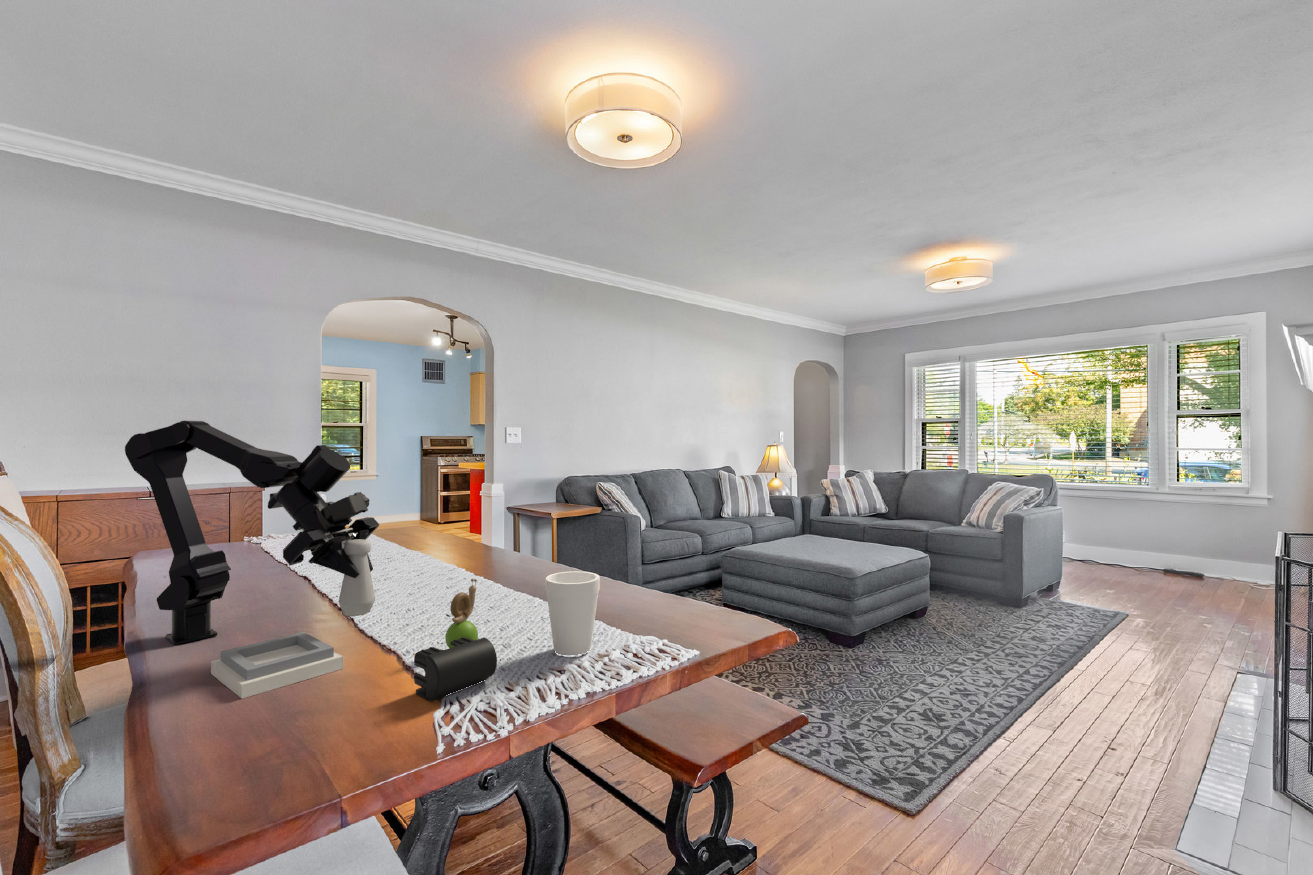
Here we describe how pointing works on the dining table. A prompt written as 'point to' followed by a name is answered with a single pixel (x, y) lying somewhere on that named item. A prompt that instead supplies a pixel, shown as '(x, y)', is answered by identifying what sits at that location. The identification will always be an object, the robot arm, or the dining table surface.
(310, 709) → the dining table surface
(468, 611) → the snail figurine
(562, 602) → the foam cup
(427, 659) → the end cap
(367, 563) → the salt shaker
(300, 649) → the display plinth
